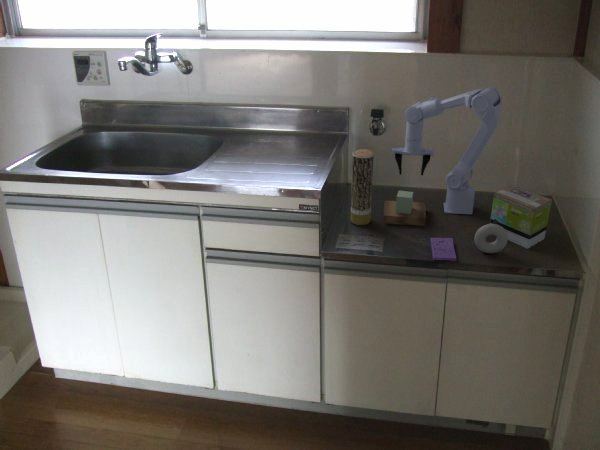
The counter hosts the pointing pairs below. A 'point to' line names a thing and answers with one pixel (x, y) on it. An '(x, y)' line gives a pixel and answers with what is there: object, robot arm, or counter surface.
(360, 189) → the paper tube
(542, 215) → the tea box
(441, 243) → the sponges
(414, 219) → the plinth
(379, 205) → the counter surface
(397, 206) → the block
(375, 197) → the counter surface
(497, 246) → the donut
